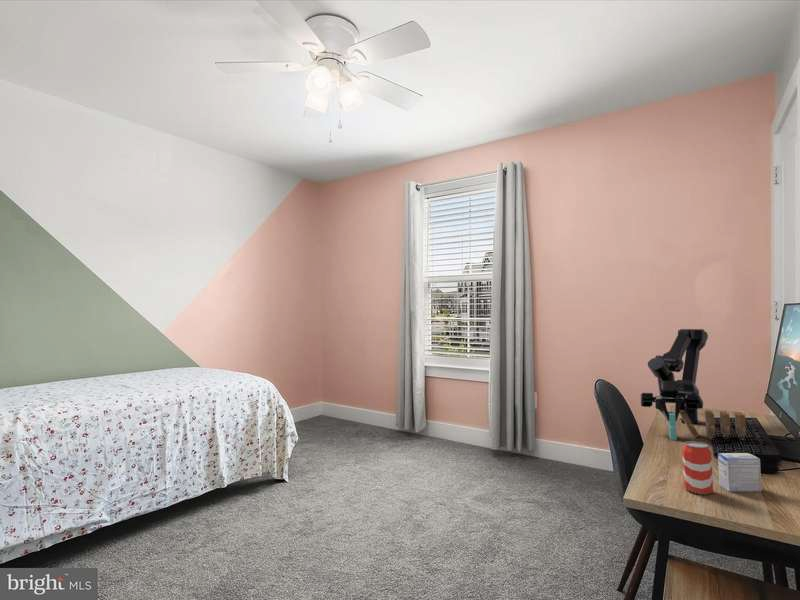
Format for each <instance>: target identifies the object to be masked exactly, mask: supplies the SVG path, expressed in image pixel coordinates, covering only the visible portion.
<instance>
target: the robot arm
mask: <svg viewBox="0 0 800 600" xmlns="http://www.w3.org/2000/svg"><path fill="white" fill-rule="evenodd" d="M708 336H709V334H708V332H706V331H705V329H704V328H702V329H701V328H686V329H685V328H681V329H678V330H677V336H676V337H675V340H674V342H673V343H672V346H671V347H670V350H669V351H668V352H667V351H666V352H665V353H663V354H662V355H655V357H653V358H651V359H650V360H648V362H647V367H648V369H649V370H650V372H651V373H652V374H653V376H654V377H655V378H656V379H657V382H658V383H657V384H658V385H657V386H658V392H659V395H655V396H654V394H653V392H641V394H640V406H641V407H643V408H644V407H645V408H651V407H652V406H653V403H654V404H655V409H656V410H658V411H660V413H661V414H662V415H663V416H664V417H665V419H666V420H667V422H668V421H669V415H668V412H669V411H668V408H667V405H666V404H674V413H675V417H676V422H677V421H678V417H679V415H680V411H682V410H684V411H685V412H686V413H687V415H688V417H689V419H690V420H691V422H692V424H693V425H694V424H696V425H698V424H699V425H700V424H702V422H701V421H700V420H699V411H698V410H699V409H700V410H701V409H703V408H704V400H702V397H701V396H700V391H699V388H698V386H697V384H696V381H697V374H698V368H699V359H700V352H701V350H702V349H703V348H704V347H705V346H706V343H707V341H708V338H709V337H708ZM684 355H685V357H684ZM683 357H684V361H683ZM680 372H682V378H681V379H675V374H674V373H680ZM679 421H680V423H682V424H685V422H684V420H683V418H682V417H679Z"/></svg>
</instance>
